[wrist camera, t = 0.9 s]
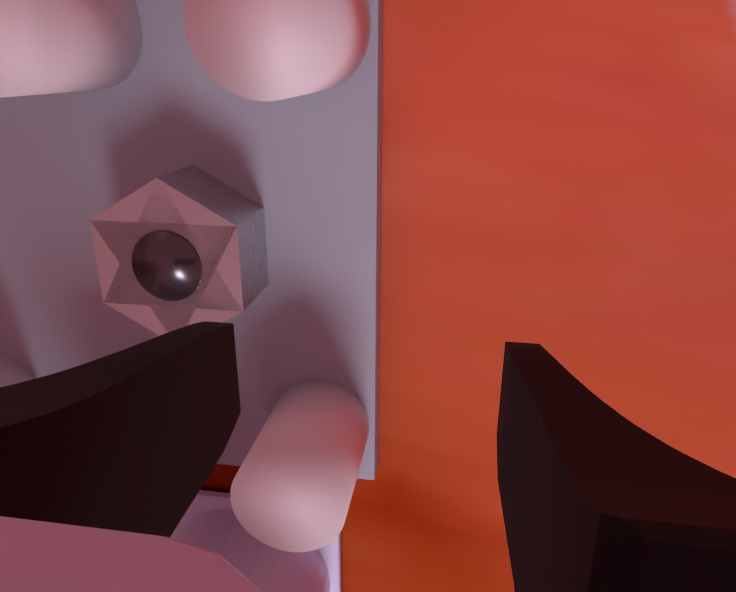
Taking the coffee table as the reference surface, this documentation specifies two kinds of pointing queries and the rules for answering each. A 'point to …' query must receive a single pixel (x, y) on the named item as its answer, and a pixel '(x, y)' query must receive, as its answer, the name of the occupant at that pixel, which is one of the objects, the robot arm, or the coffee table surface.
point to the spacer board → (236, 169)
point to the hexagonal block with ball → (181, 251)
